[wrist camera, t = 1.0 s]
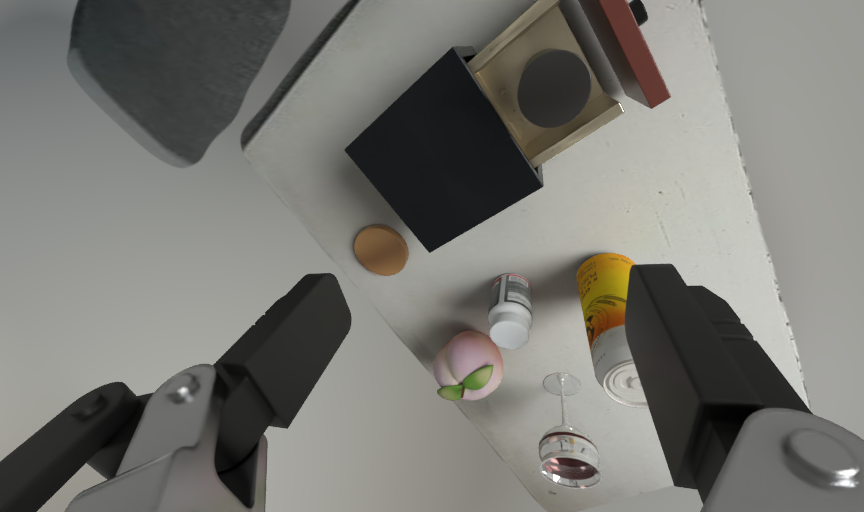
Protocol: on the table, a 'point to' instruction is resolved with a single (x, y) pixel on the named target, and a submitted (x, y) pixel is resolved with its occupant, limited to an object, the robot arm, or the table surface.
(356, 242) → the disc
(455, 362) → the decorative fruit
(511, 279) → the pill bottle
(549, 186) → the table surface
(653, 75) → the cabinet drawer
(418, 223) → the drawer cabinet
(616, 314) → the beer can
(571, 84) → the dark grey cylinder
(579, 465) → the wineglass
